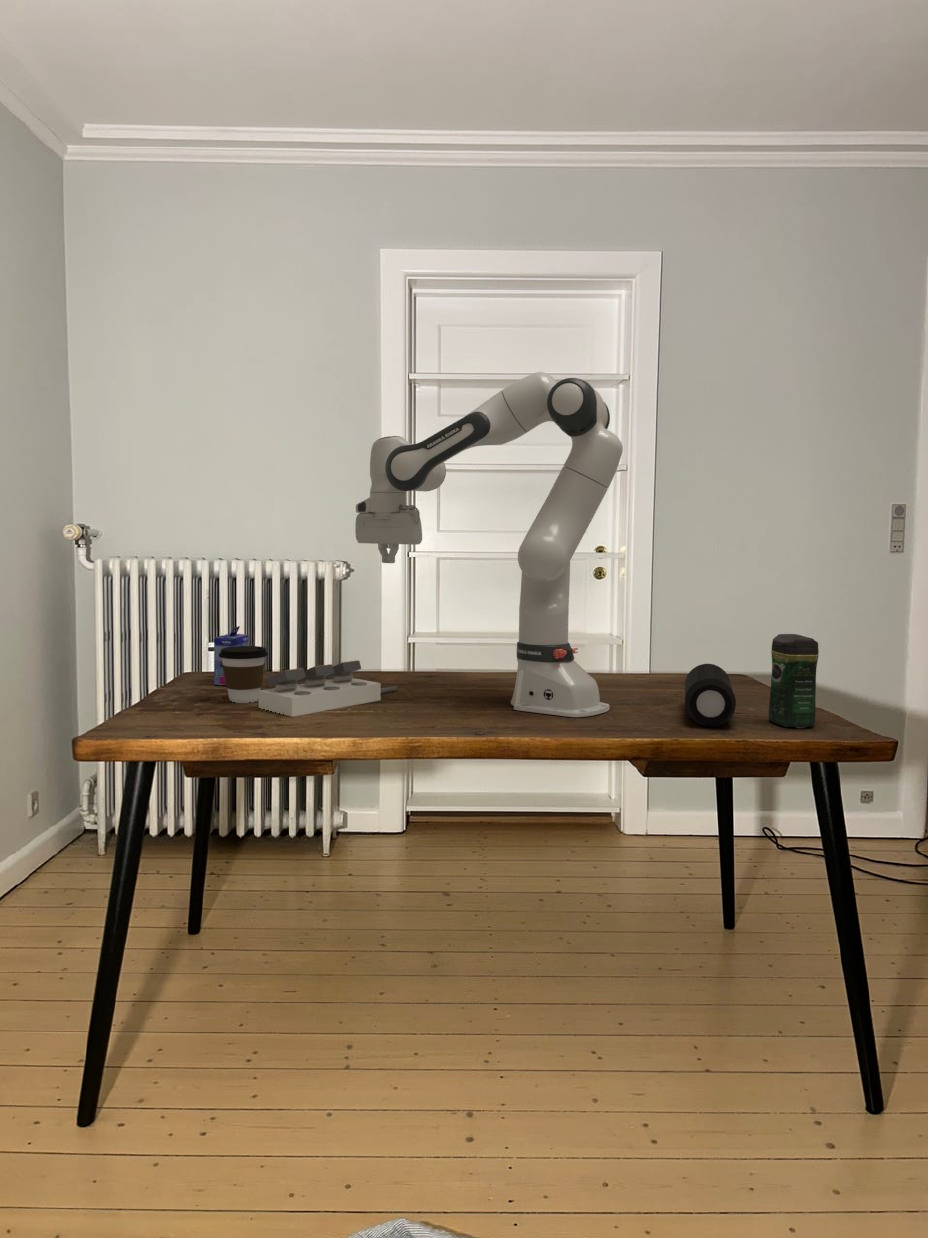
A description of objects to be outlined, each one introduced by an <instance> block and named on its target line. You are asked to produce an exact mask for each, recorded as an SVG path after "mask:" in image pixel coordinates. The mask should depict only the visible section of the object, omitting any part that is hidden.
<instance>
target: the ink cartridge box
mask: <svg viewBox="0 0 928 1238" xmlns="http://www.w3.org/2000/svg"><path fill="white" fill-rule="evenodd" d="M240 627H241V626H240V625H239V626H235V627H233V628H232V630H231V631H230V633H227V634H223V635H219V636H215V637H214V639H213V667H214V668H213V685H214V686H222V685H226V683H225V677H224V672H223V666H222V665H223V662H222V658H220V657H219V653H221V649H222V648H226V647H234V646H249V634H247V633H246V634H245V633H238V632H239V629H240Z"/></svg>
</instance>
